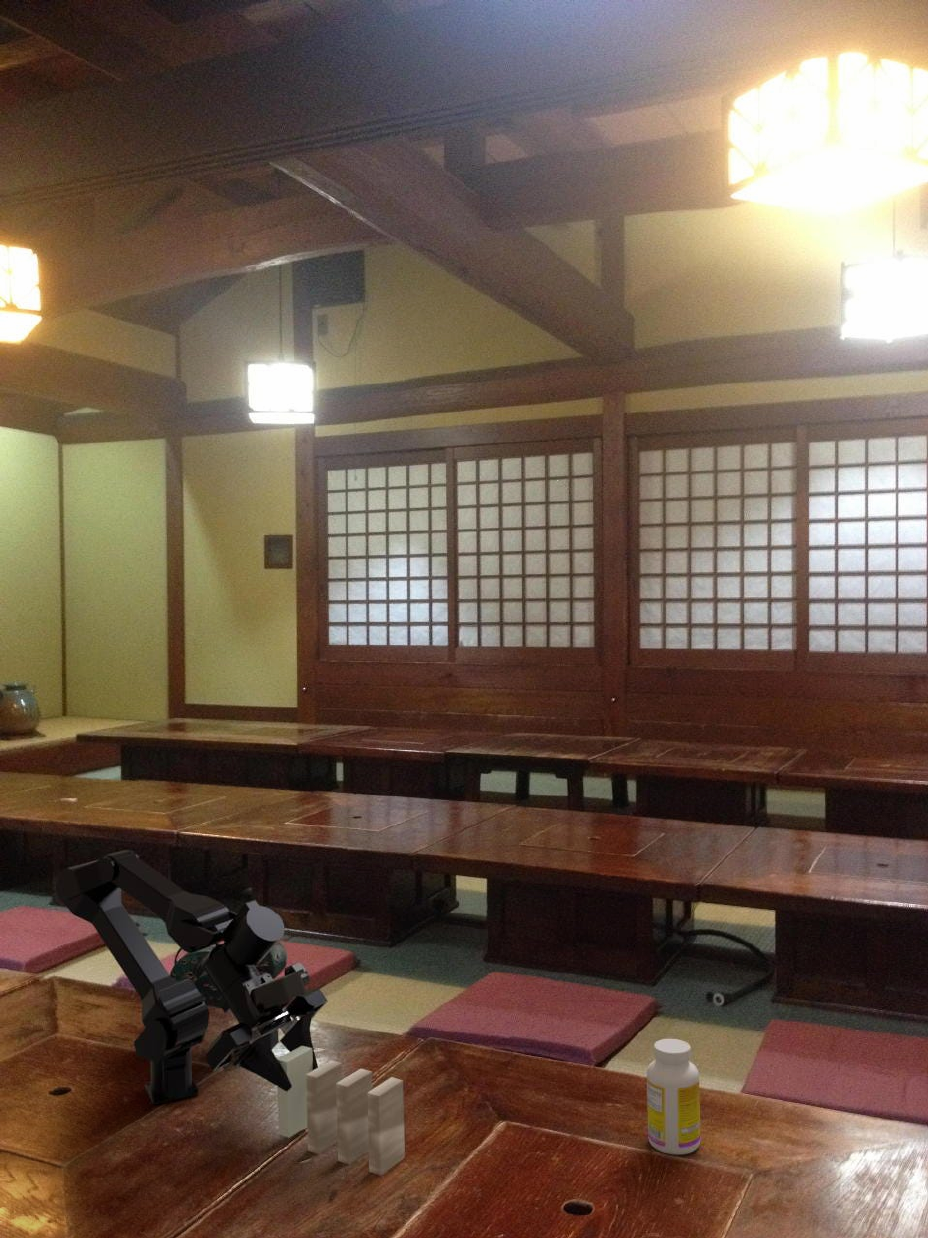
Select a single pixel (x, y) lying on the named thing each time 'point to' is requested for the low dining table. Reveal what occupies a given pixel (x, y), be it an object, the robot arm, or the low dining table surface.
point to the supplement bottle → (673, 1099)
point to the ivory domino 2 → (353, 1115)
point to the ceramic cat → (206, 987)
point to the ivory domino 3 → (386, 1126)
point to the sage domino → (294, 1091)
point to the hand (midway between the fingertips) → (303, 1081)
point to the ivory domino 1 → (322, 1106)
